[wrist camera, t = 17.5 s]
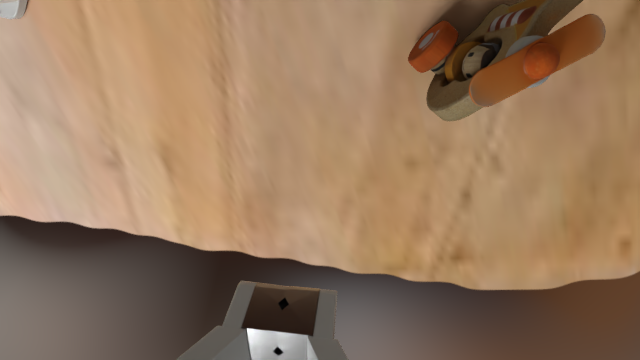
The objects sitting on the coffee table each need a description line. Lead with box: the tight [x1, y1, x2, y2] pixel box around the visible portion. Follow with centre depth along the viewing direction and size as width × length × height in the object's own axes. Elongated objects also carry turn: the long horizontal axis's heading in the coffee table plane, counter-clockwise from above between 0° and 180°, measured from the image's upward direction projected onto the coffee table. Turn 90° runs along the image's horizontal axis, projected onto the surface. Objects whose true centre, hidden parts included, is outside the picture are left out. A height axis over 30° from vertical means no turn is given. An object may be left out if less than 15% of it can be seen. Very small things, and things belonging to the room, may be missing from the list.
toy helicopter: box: [408, 0, 605, 121], centre depth 29 cm, size 8×21×14 cm, turn 140°
